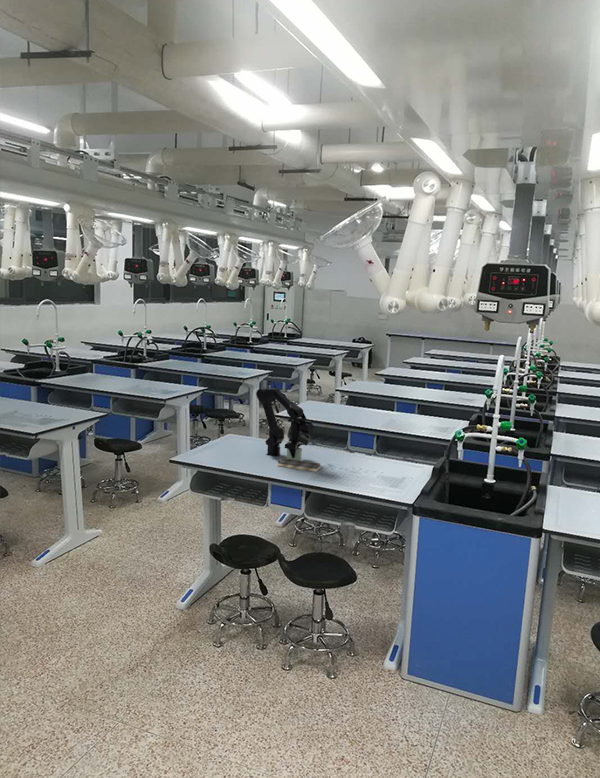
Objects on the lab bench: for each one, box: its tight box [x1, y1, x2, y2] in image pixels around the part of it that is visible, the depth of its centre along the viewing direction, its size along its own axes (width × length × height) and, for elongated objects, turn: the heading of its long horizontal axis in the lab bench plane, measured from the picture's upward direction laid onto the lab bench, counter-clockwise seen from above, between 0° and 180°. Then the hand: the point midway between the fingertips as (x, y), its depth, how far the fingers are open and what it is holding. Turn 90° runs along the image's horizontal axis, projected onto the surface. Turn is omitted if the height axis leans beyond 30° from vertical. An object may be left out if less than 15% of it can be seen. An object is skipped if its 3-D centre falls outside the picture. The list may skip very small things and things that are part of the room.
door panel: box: [286, 447, 303, 461], centre depth 323 cm, size 8×2×7 cm, turn 73°
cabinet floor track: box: [276, 457, 322, 473], centre depth 312 cm, size 22×9×2 cm, turn 73°
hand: (294, 457), depth 323 cm, fingers closed on door panel, 2 cm apart
